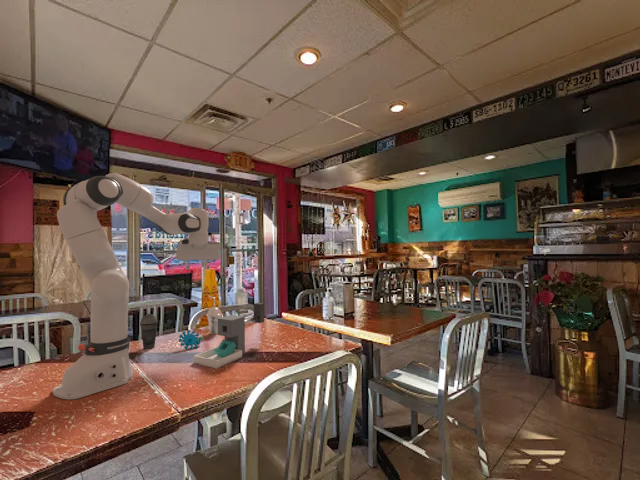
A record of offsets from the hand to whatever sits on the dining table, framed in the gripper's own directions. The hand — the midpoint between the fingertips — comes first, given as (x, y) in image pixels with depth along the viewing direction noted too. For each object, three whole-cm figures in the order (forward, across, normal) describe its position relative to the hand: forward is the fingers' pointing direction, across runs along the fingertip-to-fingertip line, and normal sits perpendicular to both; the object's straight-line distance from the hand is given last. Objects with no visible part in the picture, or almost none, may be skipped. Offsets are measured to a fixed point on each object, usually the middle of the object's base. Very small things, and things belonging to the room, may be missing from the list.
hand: (198, 269), depth 154 cm
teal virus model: (+36, +2, +6) cm, 37 cm away
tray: (+36, -9, +28) cm, 47 cm away
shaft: (+26, -21, +17) cm, 37 cm away
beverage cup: (+36, +21, 0) cm, 42 cm away
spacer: (+34, -10, +27) cm, 45 cm away
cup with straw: (+36, -8, -16) cm, 40 cm away
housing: (+36, -15, +23) cm, 45 cm away
